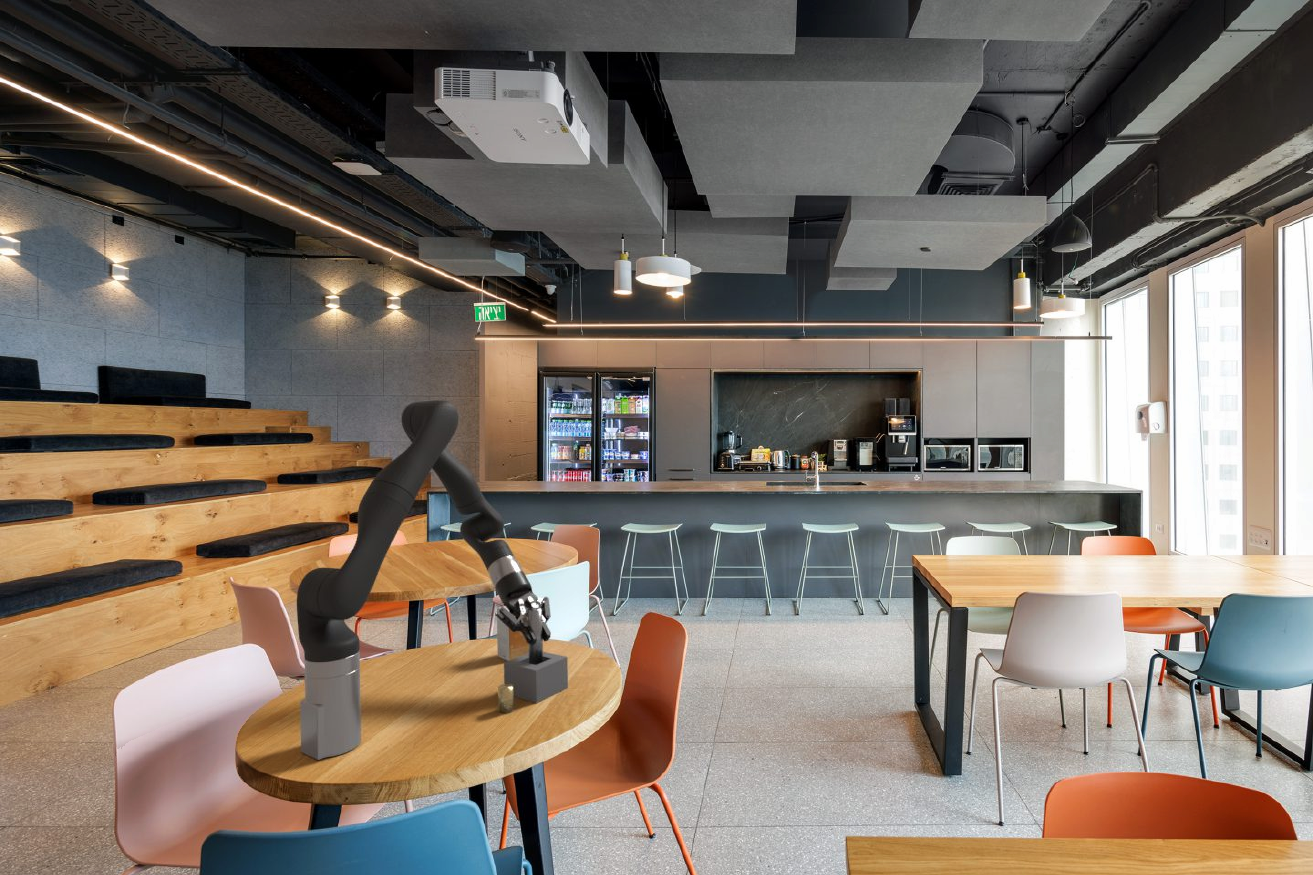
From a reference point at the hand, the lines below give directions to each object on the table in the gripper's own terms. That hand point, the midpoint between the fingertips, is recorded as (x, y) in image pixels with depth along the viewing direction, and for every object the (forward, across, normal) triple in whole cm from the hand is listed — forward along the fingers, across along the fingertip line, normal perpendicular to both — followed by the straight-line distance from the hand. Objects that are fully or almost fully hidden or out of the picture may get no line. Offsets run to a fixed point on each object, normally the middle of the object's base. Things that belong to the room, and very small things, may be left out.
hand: (540, 640), depth 141 cm
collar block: (+7, 0, +10) cm, 12 cm away
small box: (-10, +11, +27) cm, 31 cm away
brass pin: (+10, -11, +7) cm, 16 cm away
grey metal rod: (+2, 0, +5) cm, 6 cm away
